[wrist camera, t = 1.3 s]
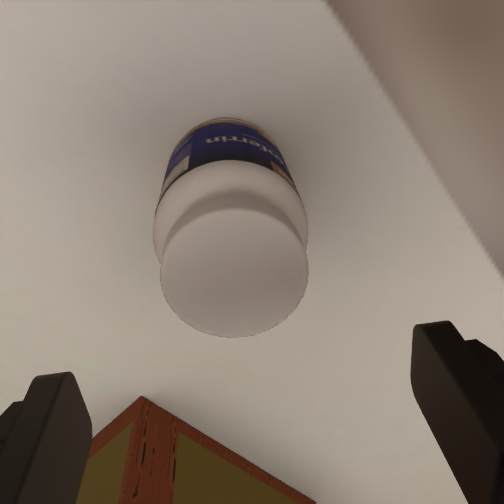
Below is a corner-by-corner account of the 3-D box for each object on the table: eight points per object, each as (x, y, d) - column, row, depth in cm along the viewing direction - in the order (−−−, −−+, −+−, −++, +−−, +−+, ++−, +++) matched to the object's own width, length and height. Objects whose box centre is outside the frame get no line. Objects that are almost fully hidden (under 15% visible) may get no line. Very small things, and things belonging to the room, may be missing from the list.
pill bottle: (305, 148, 23) (362, 241, 15) (251, 242, 26) (272, 373, 17) (196, 93, 22) (188, 161, 13) (148, 199, 24) (114, 318, 15)
